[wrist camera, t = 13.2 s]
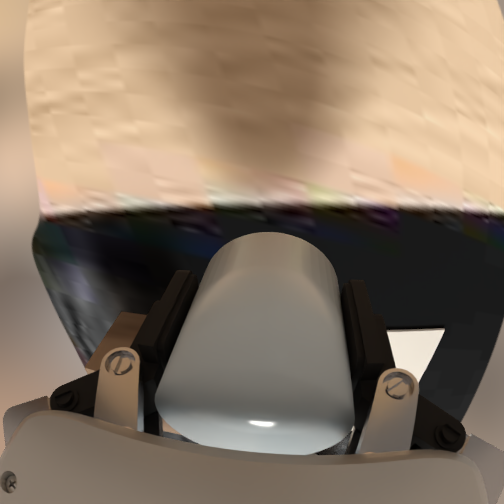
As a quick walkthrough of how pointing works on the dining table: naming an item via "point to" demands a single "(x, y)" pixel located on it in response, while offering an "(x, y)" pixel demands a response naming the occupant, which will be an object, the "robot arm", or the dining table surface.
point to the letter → (414, 348)
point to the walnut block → (120, 344)
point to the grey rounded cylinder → (262, 352)
